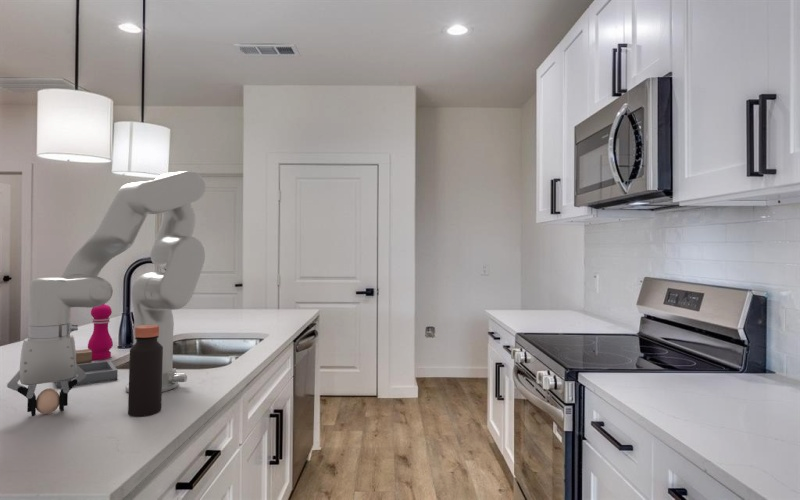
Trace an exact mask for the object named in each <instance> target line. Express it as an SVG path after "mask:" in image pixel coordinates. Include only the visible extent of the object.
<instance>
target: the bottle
mask: <svg viewBox="0 0 800 500" xmlns="http://www.w3.org/2000/svg"><path fill="white" fill-rule="evenodd" d="M158 335H159V326H158V325H142V326H137V327H135V339H136V343H135V344H134V343H133V345H132V347H130V349H129V361H128V362H129V366H128V367H129V368H128V369H129V370H128V384H129V392H128V395H127V397H128V398H127V399H128V401H127V403H128V405H127V413H128V415H129V416H130V417H134V418H135V417H136V418H141V417H148V416H149V417H150V416H152V415H153V416H154V415H156V414H158V413H160V411H161V410H162V398H163V397H162V396H163V395H162V394H163V392H162V364H163V346H162V345H161V344H160V343H159V342H157V338H158V337H159V336H158Z"/></svg>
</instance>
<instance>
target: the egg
mask: <svg viewBox="0 0 800 500" xmlns="http://www.w3.org/2000/svg"><path fill="white" fill-rule="evenodd" d="M59 395H60V393H58V391H57V390H55V389H54V388H45V389H44V390H42V391H41V392H40V393H39V394H38V395H37V396H36V411H37V412H38V413H40V414H42V415H49V414H52V413H53V412H55V411H56V410H57V409H59V408H58V407H59V404H60V397H59Z"/></svg>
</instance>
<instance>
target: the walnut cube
mask: <svg viewBox="0 0 800 500" xmlns="http://www.w3.org/2000/svg"><path fill="white" fill-rule="evenodd" d="M75 350H76V364H84V363H93V362H92V361H93V360H92V351H91V350H90V349H88V348H86V349H78V350H77V349H75Z"/></svg>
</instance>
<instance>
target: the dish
mask: <svg viewBox="0 0 800 500" xmlns="http://www.w3.org/2000/svg"><path fill="white" fill-rule="evenodd" d="M77 365H78V366H79V367H80V368H81V369H82V370H83V371H84V372H85V373H86V375H87V376H86V377H85V378H84V379H82V380H81V381H80V382H78V383H77V384H76V385H75V386H82V385H84V386H85V385H90V384H98V383H104V382H111V381H118V373H119V372H118V369H117V367H116V365H114V363H113V362H112V361H111V360H103V361H95V362H94V361H93V362H92V363H84V364H77ZM76 376H77V373H76V375H75V377H76ZM75 377H73V378H75ZM73 378H72V379H73ZM70 380H71V379H69V380H67V382H69V381H70ZM54 384H55V387H56V389H62V386H61V382H60V381H57V382H54ZM75 386H74V387H75Z"/></svg>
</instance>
